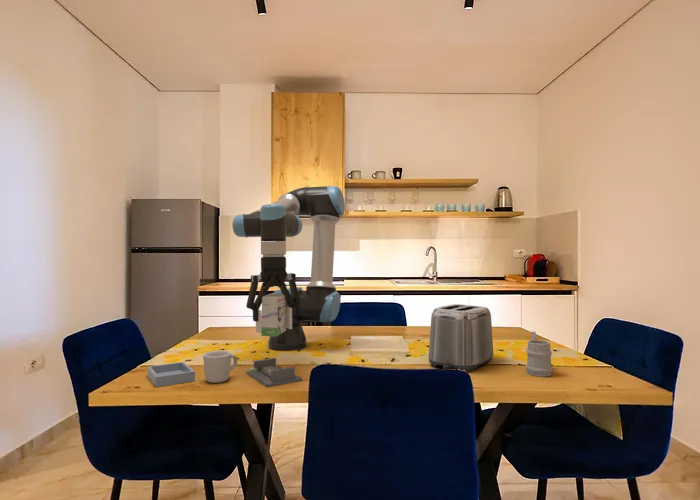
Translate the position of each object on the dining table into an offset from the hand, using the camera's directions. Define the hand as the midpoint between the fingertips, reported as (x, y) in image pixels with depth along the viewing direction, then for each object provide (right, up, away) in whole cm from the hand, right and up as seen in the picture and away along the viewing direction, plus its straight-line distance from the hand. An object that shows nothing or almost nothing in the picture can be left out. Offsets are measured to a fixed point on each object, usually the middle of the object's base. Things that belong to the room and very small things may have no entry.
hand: (274, 330), depth 133 cm
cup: (-15, -14, -3) cm, 21 cm away
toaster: (+60, -14, +15) cm, 63 cm away
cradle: (0, -14, 0) cm, 14 cm away
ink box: (0, -1, 0) cm, 1 cm away
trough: (-31, -14, -2) cm, 34 cm away
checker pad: (0, -13, 0) cm, 13 cm away
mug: (+82, -14, +5) cm, 83 cm away
